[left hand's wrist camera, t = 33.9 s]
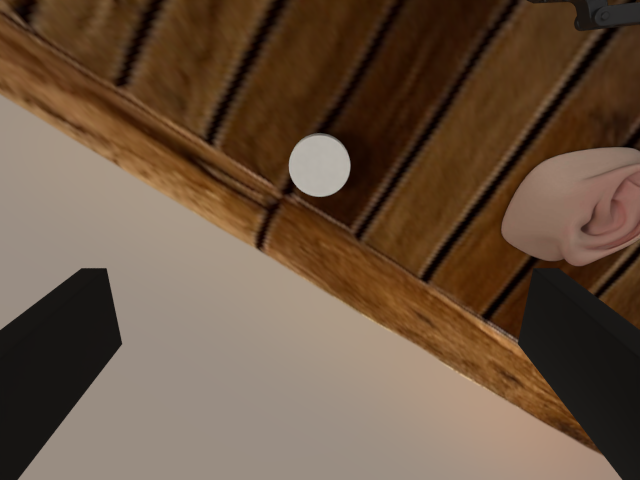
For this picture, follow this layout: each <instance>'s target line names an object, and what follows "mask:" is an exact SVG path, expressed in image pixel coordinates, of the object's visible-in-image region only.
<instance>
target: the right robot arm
mask: <svg viewBox="0 0 640 480" xmlns="http://www.w3.org/2000/svg"><path fill="white" fill-rule="evenodd" d="M527 1H529V2H532V3H552V2H571V3H573V4H574V5H575V7H576V11H577V17H576V19H575V22H574V26H575V28H576V29H577V30H578V31H585V30H594V29H603V28H612V27H621V26H630V25H639V24H640V0H636V2H635V3H627V4H619V5H610V6H608V3H607V0H527Z"/></svg>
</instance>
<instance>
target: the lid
mask: <svg viewBox="0 0 640 480" xmlns="http://www.w3.org/2000/svg"><path fill="white" fill-rule="evenodd" d="M289 171H290V175H291V178H292V180H293V182H294V183H295V185H296V186H297V187H298V188H299V189H300V190H301V191H303V192H304V193H306V194H309V195H312V196H317V197H322V196H328V195H331V194H333V193H335V192H337V191H338V190H339V189H340V188H341V187H342V186H343V185H344V184H345V182H346V181H347V179H348V176H349V173H350V159H349V156H348V153H347V151H346V149H345V147H344V145H343V144H342V143H341V142H340V141H339V140H338V139H336V138H335V137H333V136H331V135H328V134H323V133H317V134H312V135H309V136H306V137H305V138H303V139H302V140H300V141H299V142H298V143H297V145H296V146H295V148H294V149H293V152H292V154H291V157H290V161H289Z"/></svg>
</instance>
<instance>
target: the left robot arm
mask: <svg viewBox="0 0 640 480" xmlns="http://www.w3.org/2000/svg"><path fill="white" fill-rule="evenodd" d="M121 345H122V341H121V336H120V331H119V327H118V322H117V317H116V312H115V307H114V302H113V297H112V293H111V288H110V283H109V278H108V273H107V269H106V268H81V269H80V270H79V271H78V272H76V273H75V274H74V275H72V276H71V277H70V278H68V279H67V280H66V281H64V282H63V283H62V284H60V285H59V286H58V287H56V288H55V289H54V290H52V291H51V292H50V293H49V294H47V295H46V296H45V297H43V298H42V299H41V300H39V301H38V302H37V303H35V304H34V305H33V306H31V307H30V308H29V309H27V310H26V311H25V312H24V313H22V314H21V315H20V316H18V317H17V318H16V319H14V320H13V321H12V322H10V323H9V324H8V325H6V326H5V327H4V328H2V329H1V330H0V480H18V479H19V477H20V476H21V475H22V473H23V472H24V471H25V469H26V468H27V467H28V466H29V464H30V463H31V462H32V460H33V459H34V458H35V456H36V455H37V454H38V453H39V451H40V450H41V449H42V447H43V446H44V445H45V443H46V442H47V441H48V440H49V438H50V437H51V436H52V434H53V433H54V432H55V430H56V429H57V428H58V427H59V425H60V424H61V423H62V421H63V420H64V419H65V417H66V416H67V415H68V414H69V412H70V411H71V410H72V408H73V407H74V406H75V405H76V403H77V402H78V401H79V399H80V398H81V397H82V395H83V394H84V393H85V392H86V390H87V389H88V388H89V386H90V385H91V384H92V382H93V381H94V380H95V378H96V377H97V376H98V375H99V373H100V372H101V371H102V369H103V368H104V367H105V365H106V364H107V363H108V362H109V360H110V359H111V358H112V357H113V355H114V354H115V353H116V351H117V350H118V349H119V347H120V346H121ZM518 345H519V346H520V347H521V349H522V350H523V351H524V353H525V354H526V355H527V357H528V358H529V359H530V360H531V362H532V363H533V364H534V366H535V367H536V368H537V369H538V371H539V372H540V373H541V375H542V376H543V377H544V379H545V380H546V381H547V382H548V384H549V385H550V386H551V388H552V389H553V390H554V392H555V393H556V394H557V395H558V397H559V398H560V399H561V401H562V402H563V403H564V405H565V406H566V407H567V408H568V410H569V411H570V412H571V414H572V415H573V416H574V418H575V419H576V420H577V421H578V423H579V424H580V425H581V427H582V428H583V429H584V430H585V432H586V433H587V434H588V436H589V437H590V438H591V440H592V441H593V442H594V443H595V445H596V446H597V447H598V449H599V450H600V451H601V453H602V454H603V455H604V456H605V458H606V459H607V460H608V462H609V463H610V464H611V466H612V467H613V468H614V469H615V471H616V472H617V473H618V475H619V476H620V477H621V478H622V480H640V330H639V329H638V328H636V327H635V326H634V325H632V324H631V323H630V322H628V321H627V320H626V319H624V318H623V317H622V316H620V315H619V314H618V313H616V312H615V311H614V310H613V309H611V308H610V307H609V306H607V305H606V304H605V303H603V302H602V301H601V300H599V299H598V298H597V297H595V296H594V295H593V294H591V293H590V292H589V291H588V290H586V289H585V288H584V287H582V286H581V285H580V284H578V283H577V282H576V281H574V280H573V279H572V278H570V277H569V276H568V275H566V274H565V273H564V272H563V271H561V270H560V269H559V268H533V273H532V278H531V283H530V288H529V293H528V297H527V302H526V307H525V312H524V317H523V322H522V326H521V331H520V336H519V341H518Z"/></svg>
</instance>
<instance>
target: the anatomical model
mask: <svg viewBox="0 0 640 480" xmlns="http://www.w3.org/2000/svg"><path fill="white" fill-rule="evenodd" d="M501 230H502V235H503V237H504V238H505V240H506V241H507V242H509V243H510V244H511V245H513V246H514V247H516V248H518V249H520V250H521V251H523V252H525V253H527V254H529V255H531V256H534V257H537V258H540V259H543V260H547V261H557V260H561V259H565V260H566V261H567V262H568V263H570V264H572V265H575V266H583V265H586V264H589V263H591V262H593V261H596V260H598V259H600V258H602V257H605V256H607V255H609V254H612V253H614V252H616V251H618V250H620V249H623V248H625V247H627V246H629V245H631V244H632V243H634V242H636V241H637V240H639V239H640V151H638V150H636V149H633V148H624V147H611V148H597V149H589V150H582V151H576V152H571V153H566V154H562V155H558V156H555V157H552V158H550V159H548V160H546V161H544V162H542V163H541V164H539V165H538V166H537V167H535V168H534V169H533V170H532V171H531V172H530V173H529V174H528V175H527V176H526V178H525V179H524V180H523V182H522V183H521V184H520V186H519V188H518V189H517V191H516V192H515V194H514V196H513V198H512V200H511V202H510V204H509V206H508V208H507V211H506V213H505V216H504V219H503V222H502V228H501Z"/></svg>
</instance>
